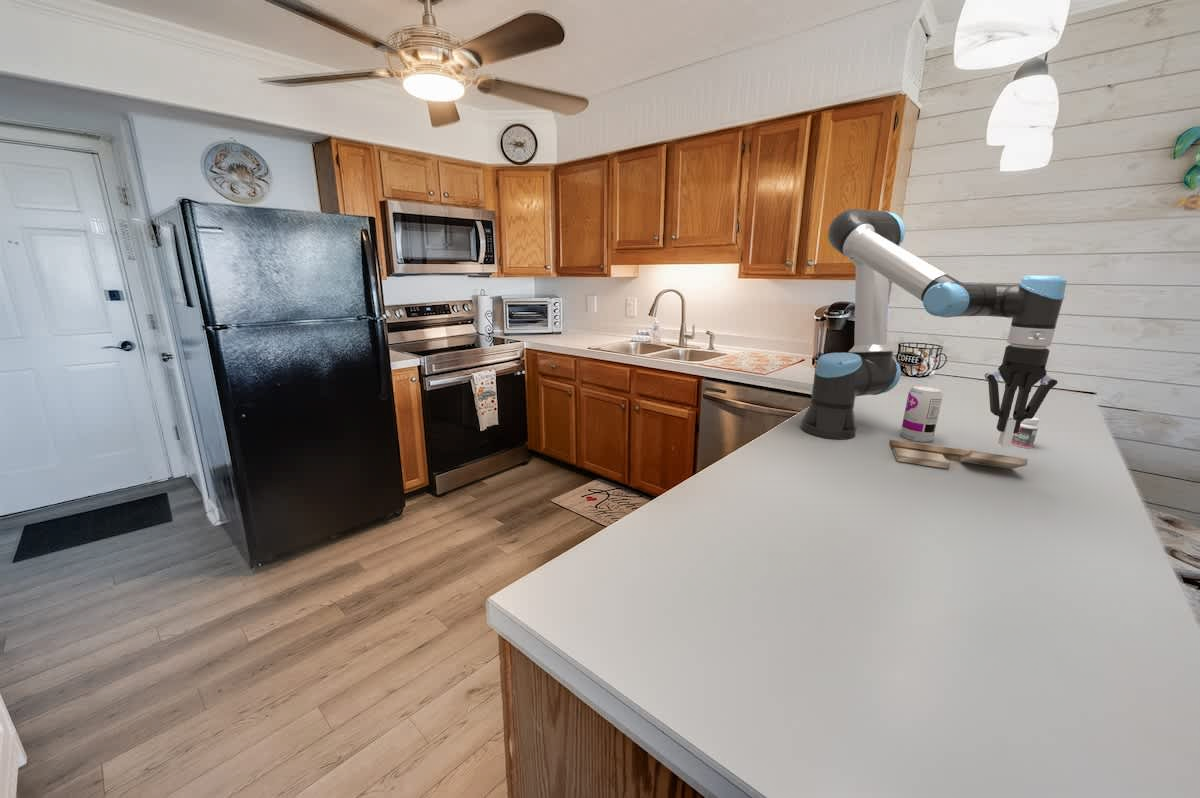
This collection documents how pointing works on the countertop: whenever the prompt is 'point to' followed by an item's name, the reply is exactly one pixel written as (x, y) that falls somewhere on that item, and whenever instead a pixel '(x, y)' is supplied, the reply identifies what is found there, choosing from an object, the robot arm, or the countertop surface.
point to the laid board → (930, 449)
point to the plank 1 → (921, 458)
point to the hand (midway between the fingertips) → (1003, 444)
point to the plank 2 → (993, 460)
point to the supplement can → (921, 413)
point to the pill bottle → (1026, 433)
